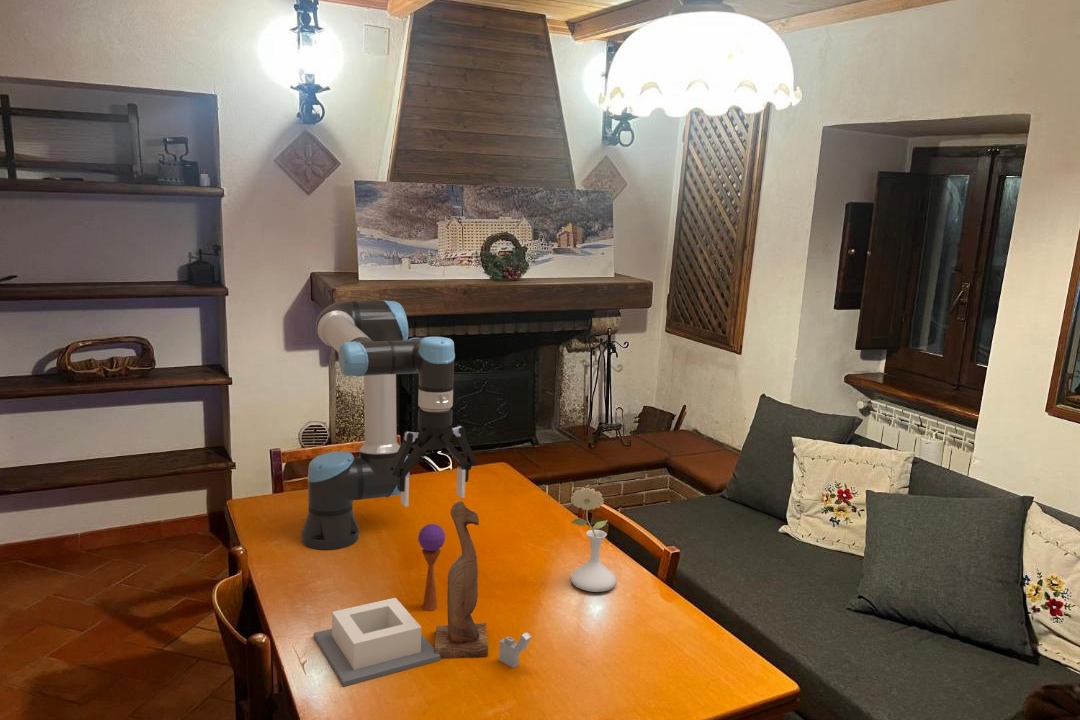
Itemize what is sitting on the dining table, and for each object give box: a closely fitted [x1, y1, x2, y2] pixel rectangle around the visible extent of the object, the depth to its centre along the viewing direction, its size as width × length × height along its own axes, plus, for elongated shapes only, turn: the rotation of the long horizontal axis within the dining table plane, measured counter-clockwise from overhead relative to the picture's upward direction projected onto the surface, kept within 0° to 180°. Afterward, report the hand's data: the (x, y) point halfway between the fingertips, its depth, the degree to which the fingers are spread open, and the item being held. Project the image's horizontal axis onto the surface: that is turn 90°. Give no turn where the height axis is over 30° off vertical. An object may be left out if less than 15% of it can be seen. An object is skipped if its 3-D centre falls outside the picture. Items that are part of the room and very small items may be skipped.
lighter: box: [498, 632, 532, 669], centre depth 159 cm, size 7×2×8 cm, turn 50°
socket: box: [313, 597, 441, 688], centre depth 162 cm, size 20×20×6 cm
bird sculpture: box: [433, 499, 489, 660], centre depth 163 cm, size 11×12×32 cm
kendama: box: [417, 523, 446, 612], centre depth 179 cm, size 6×6×20 cm
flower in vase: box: [570, 487, 617, 593], centre depth 194 cm, size 13×11×25 cm
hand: (433, 500), depth 176 cm, fingers open, 13 cm apart
